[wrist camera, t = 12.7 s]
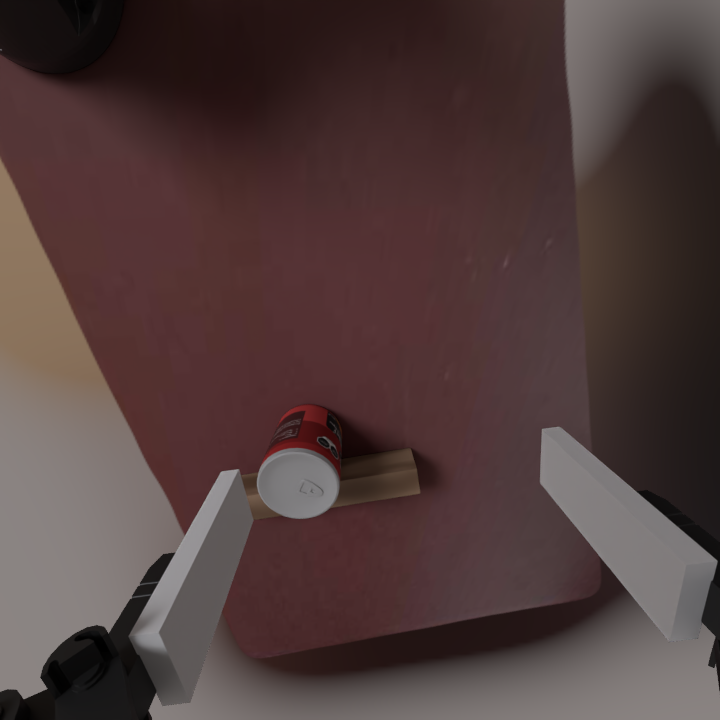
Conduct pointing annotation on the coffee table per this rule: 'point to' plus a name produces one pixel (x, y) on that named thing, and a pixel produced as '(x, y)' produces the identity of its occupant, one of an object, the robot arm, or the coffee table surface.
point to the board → (356, 481)
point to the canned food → (302, 463)
